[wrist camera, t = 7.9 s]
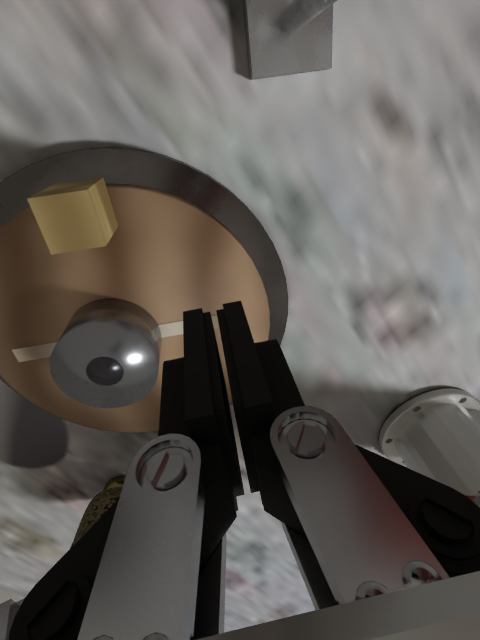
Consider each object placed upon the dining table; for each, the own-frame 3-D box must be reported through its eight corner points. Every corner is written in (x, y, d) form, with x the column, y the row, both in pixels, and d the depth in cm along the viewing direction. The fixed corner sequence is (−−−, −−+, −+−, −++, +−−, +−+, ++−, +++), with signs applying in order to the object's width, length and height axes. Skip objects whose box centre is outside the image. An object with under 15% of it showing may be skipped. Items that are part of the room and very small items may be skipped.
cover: (153, 294, 25) (148, 323, 22) (167, 368, 29) (165, 403, 25) (54, 303, 24) (32, 334, 21) (82, 377, 28) (66, 415, 25)
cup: (74, 484, 40) (50, 561, 33) (119, 454, 38) (104, 528, 31) (122, 509, 43) (111, 582, 36) (166, 482, 42) (161, 553, 35)
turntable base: (275, 121, 23) (279, 121, 22) (290, 397, 37) (293, 405, 36) (-122, 178, 22) (-137, 181, 21) (47, 442, 36) (43, 451, 35)
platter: (252, 152, 23) (269, 162, 18) (274, 397, 34) (288, 442, 30) (-91, 202, 22) (-170, 227, 17) (54, 437, 33) (31, 491, 29)
